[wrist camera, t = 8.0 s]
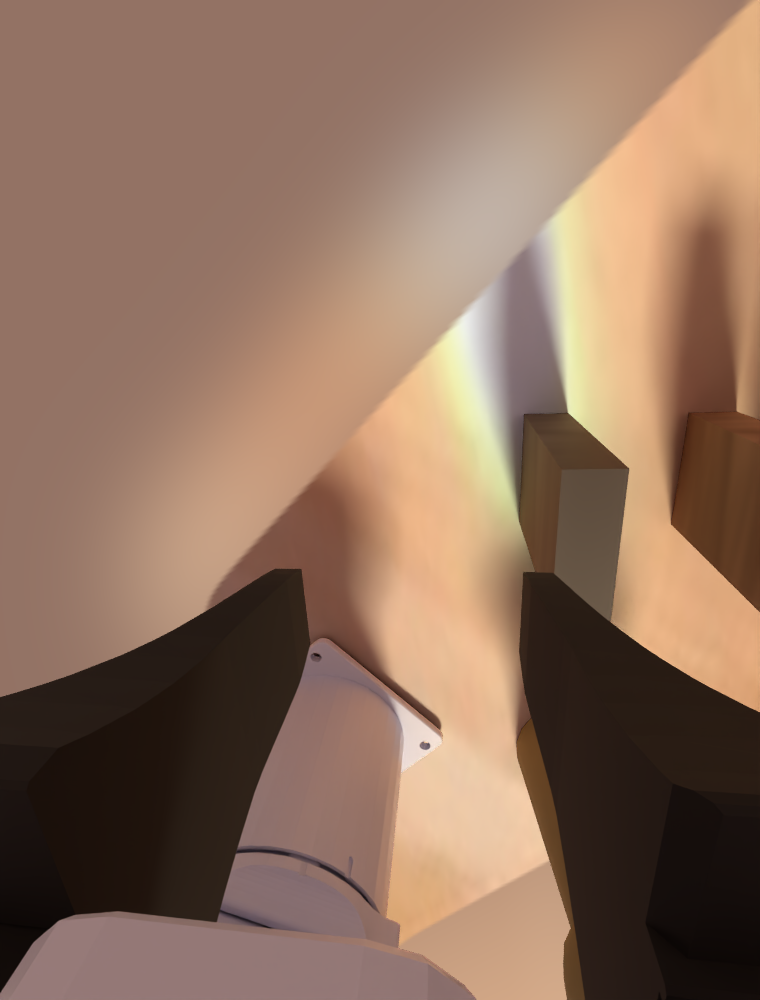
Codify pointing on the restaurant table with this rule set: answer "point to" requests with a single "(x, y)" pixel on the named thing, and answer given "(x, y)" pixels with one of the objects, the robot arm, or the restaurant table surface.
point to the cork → (550, 846)
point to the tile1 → (572, 506)
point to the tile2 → (722, 496)
